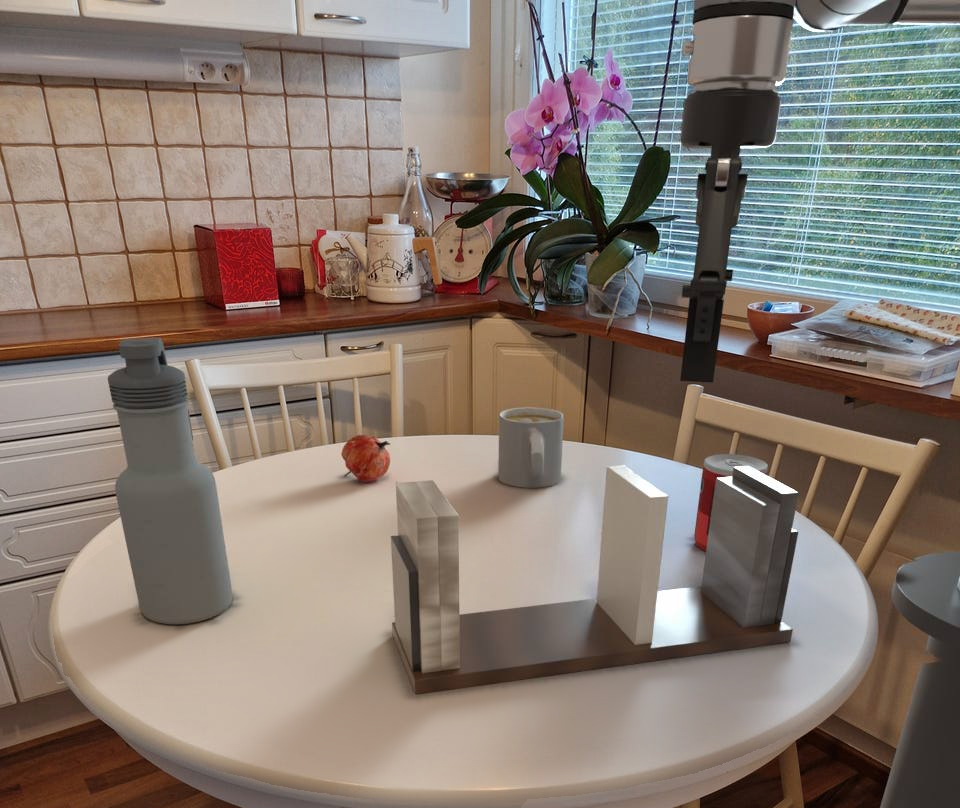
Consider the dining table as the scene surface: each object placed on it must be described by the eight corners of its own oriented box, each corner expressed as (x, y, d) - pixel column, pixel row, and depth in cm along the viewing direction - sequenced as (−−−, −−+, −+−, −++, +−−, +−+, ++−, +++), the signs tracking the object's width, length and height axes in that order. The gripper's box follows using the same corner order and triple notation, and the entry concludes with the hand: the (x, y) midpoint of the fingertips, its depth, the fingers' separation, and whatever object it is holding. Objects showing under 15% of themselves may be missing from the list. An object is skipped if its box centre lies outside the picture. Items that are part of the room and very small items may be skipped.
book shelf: (730, 594, 97) (752, 451, 89) (790, 642, 86) (821, 485, 79) (392, 635, 87) (384, 480, 80) (415, 694, 77) (408, 523, 69)
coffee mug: (501, 467, 140) (502, 406, 135) (561, 470, 139) (564, 408, 134) (492, 493, 128) (493, 427, 123) (558, 496, 127) (561, 429, 122)
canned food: (726, 531, 114) (738, 450, 109) (767, 551, 108) (782, 467, 103) (680, 539, 111) (690, 457, 106) (720, 561, 105) (732, 475, 100)
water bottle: (144, 592, 97) (92, 334, 83) (233, 583, 99) (195, 330, 86) (137, 632, 88) (77, 351, 75) (234, 621, 90) (192, 346, 77)
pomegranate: (340, 499, 132) (382, 467, 126) (318, 457, 132) (358, 424, 126) (370, 491, 138) (410, 461, 132) (348, 451, 138) (388, 419, 132)
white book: (611, 600, 91) (623, 464, 84) (652, 643, 83) (668, 495, 76) (596, 602, 91) (606, 466, 84) (635, 645, 83) (650, 497, 75)
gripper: (691, 104, 79) (666, 343, 89) (676, 73, 57) (645, 392, 67) (775, 103, 77) (740, 346, 87) (792, 70, 56) (743, 397, 66)
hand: (699, 367), depth 77 cm, fingers open, 13 cm apart
